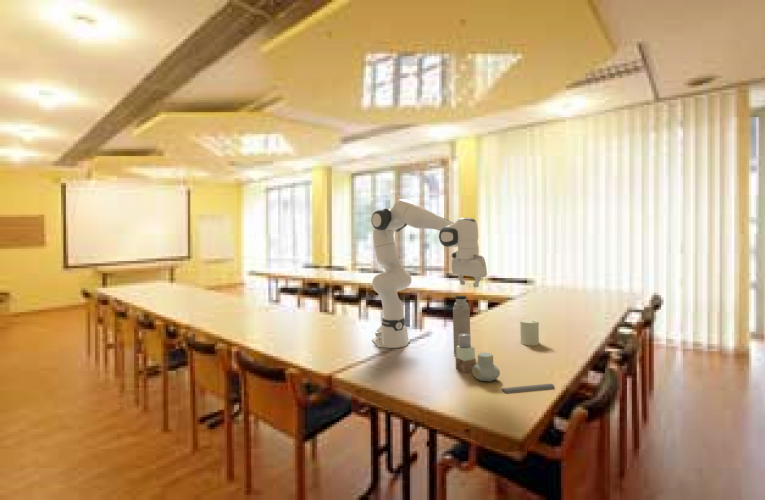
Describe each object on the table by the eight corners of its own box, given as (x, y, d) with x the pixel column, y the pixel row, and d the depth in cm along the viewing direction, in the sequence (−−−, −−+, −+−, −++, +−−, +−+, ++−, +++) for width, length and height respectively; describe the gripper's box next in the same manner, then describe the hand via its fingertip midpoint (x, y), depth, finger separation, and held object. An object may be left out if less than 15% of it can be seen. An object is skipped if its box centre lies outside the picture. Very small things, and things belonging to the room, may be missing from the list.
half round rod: (555, 390, 152) (555, 386, 152) (505, 395, 150) (505, 390, 149) (549, 386, 156) (549, 381, 156) (500, 391, 154) (500, 386, 154)
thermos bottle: (455, 350, 203) (453, 294, 201) (471, 351, 200) (470, 295, 199) (452, 355, 195) (451, 297, 194) (469, 356, 193) (468, 297, 191)
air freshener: (502, 382, 161) (502, 357, 160) (483, 385, 158) (483, 359, 158) (487, 373, 171) (487, 349, 171) (470, 375, 169) (469, 351, 168)
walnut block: (455, 368, 178) (455, 357, 177) (467, 366, 180) (466, 355, 180) (464, 373, 172) (464, 361, 172) (475, 370, 175) (475, 358, 175)
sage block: (456, 357, 177) (456, 346, 177) (466, 355, 180) (466, 344, 179) (464, 361, 172) (464, 349, 172) (474, 358, 175) (474, 347, 174)
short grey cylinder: (456, 346, 177) (456, 334, 177) (465, 344, 179) (465, 332, 179) (464, 349, 173) (463, 337, 172) (473, 346, 175) (472, 335, 175)
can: (533, 346, 205) (533, 322, 205) (516, 343, 212) (516, 320, 212) (542, 342, 212) (542, 319, 211) (526, 339, 218) (525, 317, 218)
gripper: (490, 255, 172) (490, 287, 173) (460, 253, 190) (460, 282, 191) (478, 256, 169) (478, 289, 170) (448, 254, 188) (449, 284, 188)
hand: (469, 285), depth 181 cm, fingers open, 8 cm apart
